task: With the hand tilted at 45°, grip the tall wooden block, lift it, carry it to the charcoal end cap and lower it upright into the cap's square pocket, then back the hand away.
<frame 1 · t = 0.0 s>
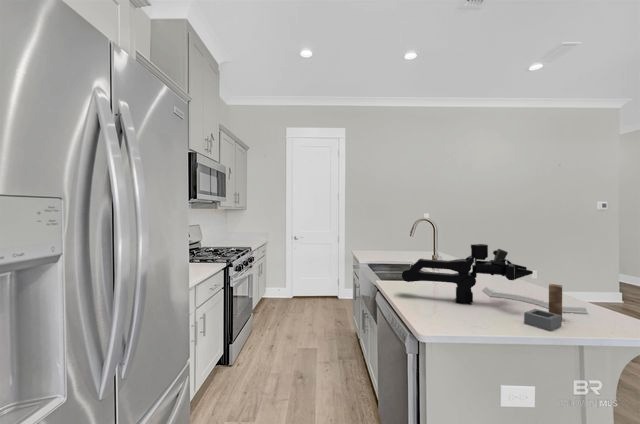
hand: (529, 270, 126), 17 cm above the countertop, tool horizontal, fingers open, 9 cm apart
molding: (528, 302, 137), on the countertop
end cap: (542, 324, 108), on the countertop
tall wooden block: (555, 318, 114), on the countertop
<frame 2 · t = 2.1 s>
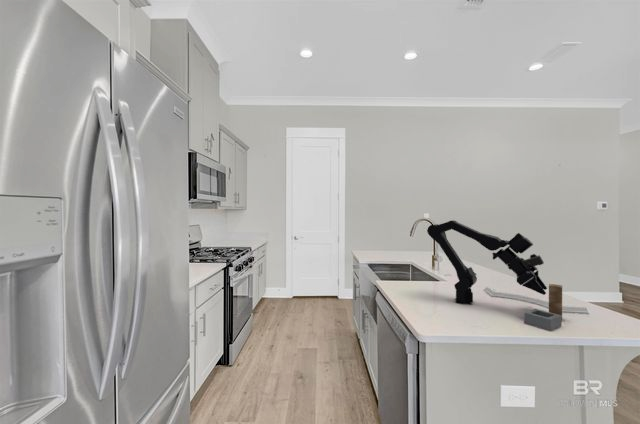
hand: (545, 291, 116), 10 cm above the countertop, tool tilted 45°, fingers open, 9 cm apart
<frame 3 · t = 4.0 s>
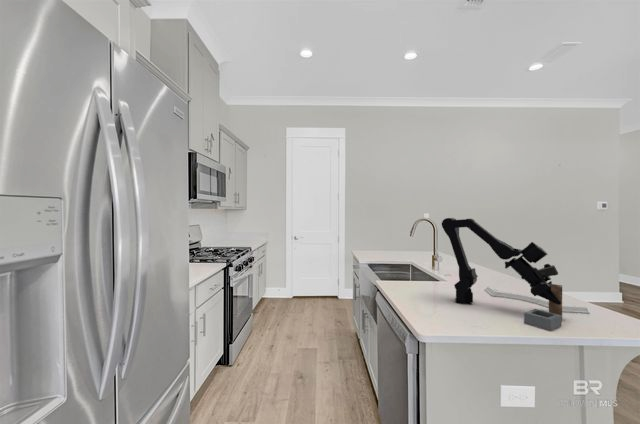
hand: (560, 302, 113), 7 cm above the countertop, tool tilted 45°, fingers closed on tall wooden block, 4 cm apart
tall wooden block: (555, 318, 114), on the countertop, touching gripper
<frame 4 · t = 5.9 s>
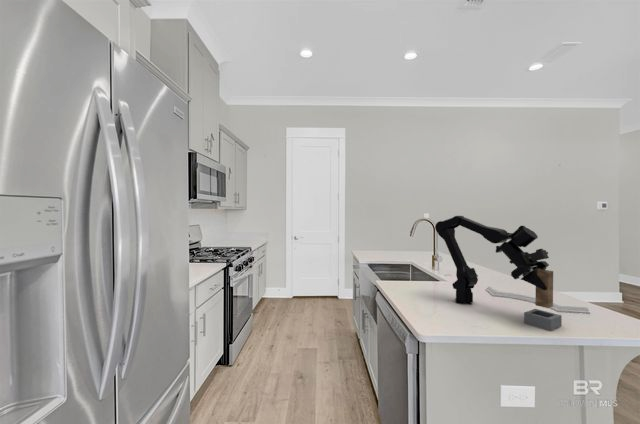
hand: (548, 288, 108), 13 cm above the countertop, tool tilted 45°, fingers closed on tall wooden block, 4 cm apart
tall wooden block: (544, 305, 109), point 7 cm above the countertop, touching gripper
when the fingers open (8 cm above the countertop, at t = 7.9 s): tall wooden block stays where it is, resting on end cap.
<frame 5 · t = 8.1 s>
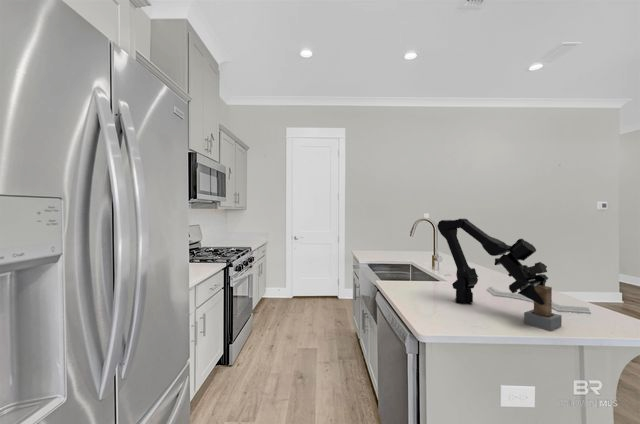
hand: (547, 303, 107), 8 cm above the countertop, tool tilted 45°, fingers open, 6 cm apart
tall wooden block: (542, 322, 108), point 1 cm above the countertop, touching end cap
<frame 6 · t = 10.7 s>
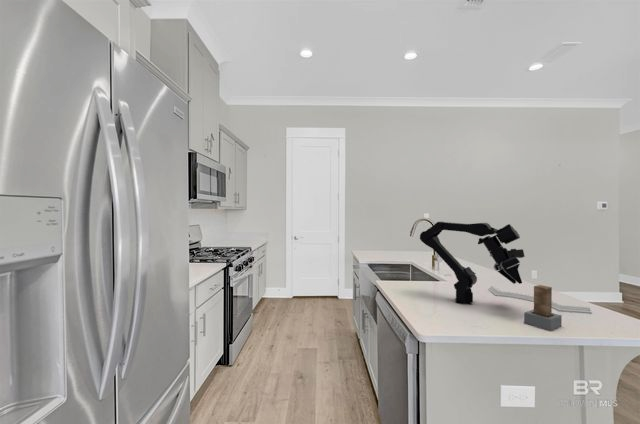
hand: (517, 283, 121), 12 cm above the countertop, tool tilted 30°, fingers open, 9 cm apart
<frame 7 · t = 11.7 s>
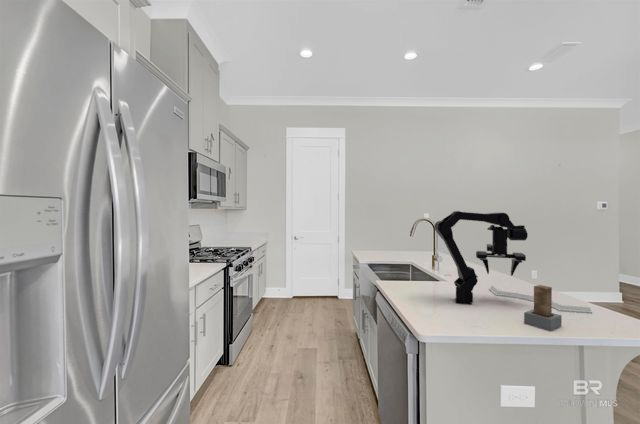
hand: (499, 274, 133), 13 cm above the countertop, tool pointing down, fingers open, 9 cm apart
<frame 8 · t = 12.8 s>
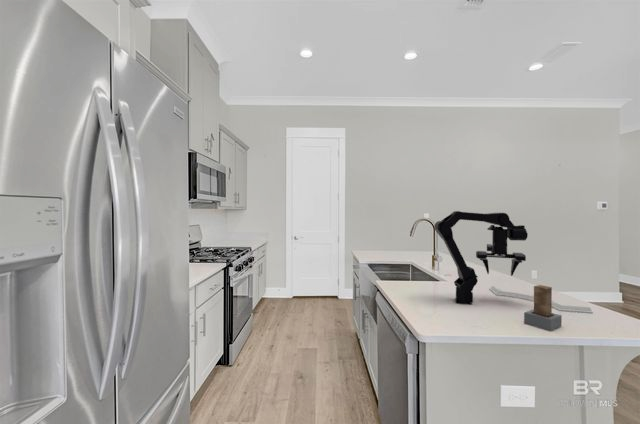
hand: (499, 274, 134), 13 cm above the countertop, tool pointing down, fingers open, 9 cm apart
at the end: tall wooden block 0.0 cm off-centre on the end cap, point 1.0 cm above the end cap's base; tall wooden block tilted 0°; the gripper is holding nothing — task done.
